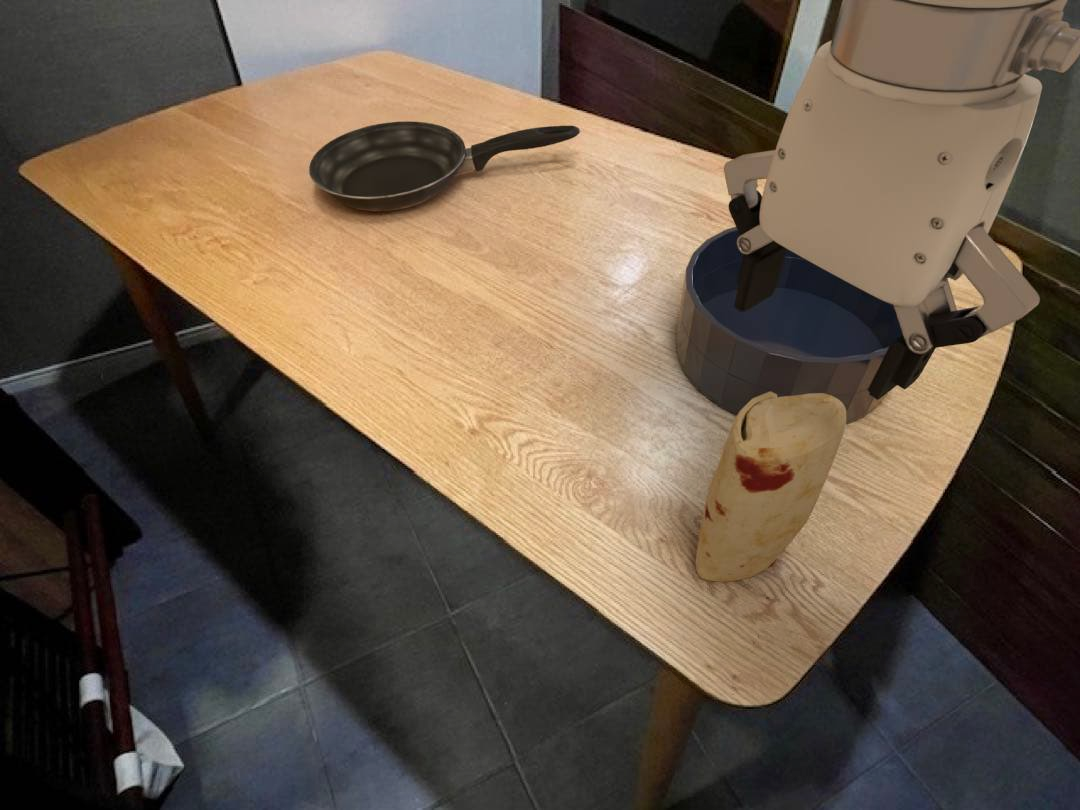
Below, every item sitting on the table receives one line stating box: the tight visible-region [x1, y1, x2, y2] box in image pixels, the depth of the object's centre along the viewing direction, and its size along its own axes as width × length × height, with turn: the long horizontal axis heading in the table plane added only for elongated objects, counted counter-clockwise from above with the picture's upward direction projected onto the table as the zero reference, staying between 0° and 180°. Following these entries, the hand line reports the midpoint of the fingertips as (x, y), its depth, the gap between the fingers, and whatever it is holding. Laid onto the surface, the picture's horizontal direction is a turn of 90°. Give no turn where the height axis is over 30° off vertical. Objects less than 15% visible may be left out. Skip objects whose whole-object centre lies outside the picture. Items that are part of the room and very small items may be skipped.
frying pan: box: [308, 120, 581, 212], centre depth 104 cm, size 44×25×7 cm, turn 94°
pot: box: [675, 226, 903, 425], centre depth 72 cm, size 24×24×10 cm
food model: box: [695, 391, 847, 583], centre depth 50 cm, size 10×7×20 cm
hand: (815, 341), depth 39 cm, fingers open, 9 cm apart
